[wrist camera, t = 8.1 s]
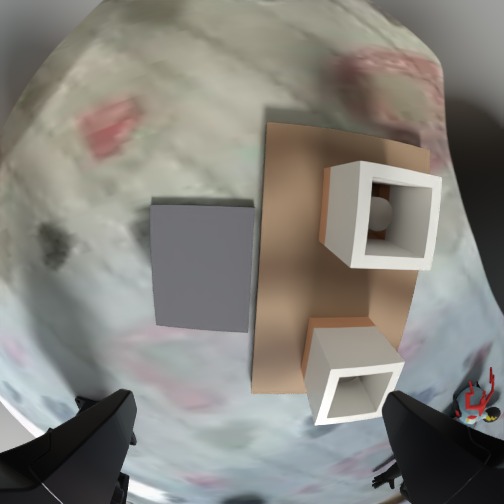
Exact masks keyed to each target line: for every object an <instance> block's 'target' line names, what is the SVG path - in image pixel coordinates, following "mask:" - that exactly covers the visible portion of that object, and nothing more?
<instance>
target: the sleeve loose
mask: <svg viewBox="0 0 504 504" xmlns="http://www.w3.org/2000/svg"><path fill="white" fill-rule="evenodd" d="M372 184H375V185H380V189H379V197H380V198H384V199H386V200H387V201H388V202H389V203H390V205H391V207H392V210H393V218H392V221H391V223H390V225H389V226H388V227H387V228H386V229H384V230H382V231H376V232H375V236H374V235H367V232H368V224H369V214H370V203H371V190H372ZM441 184H442V178H441V177H437V176H433V175H429V174H425V173H421V172H416V171H412V170H407V169H403V168H398V167H393V166H388V165H383V164H377V163H371V162H366V161H356V162H351V163H347V164H342V165H337V166H333V167H328V168H324V177H323V193H322V207H321V219H320V230H319V242H321V243H322V244H323V245H324V246H325V247H327V248H328V249H329V250H330V251H331V252H332V253H334V254H335V255H336V256H337V257H338V258H339V259H341V260H342V261H343V262H344V263H345V264H346V265H348V266H349V267H350V268H367V269H397V270H431V265H432V260H433V254H434V248H435V242H436V235H437V228H438V220H439V210H440V199H441Z"/></svg>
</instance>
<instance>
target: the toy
mask: <svg viewBox="0 0 504 504" xmlns="http://www.w3.org/2000/svg"><path fill="white" fill-rule="evenodd" d="M490 383H492V389H491V392H490V393H489V395H488V397H487V398H486V400H485V396H486V395H485V392H486V391H484V390H483V391H484V392H483V391H482V390H481V389H480V386H479V384H478V381H477V385H476V387H474V386H472V384H471V381H469V384H470V387H468V388H466V389H464V390H463V391H462V392H460V394H459V396H458V397H457V399H456V398H455V396H453V405H454V409H455V415H456V417H455V418H453V419H455V420H457V421H459V422H461V423H463V424H465V425H467V427H468V426H469V427H471V428H473V429H476V426H477V422H478V421H480V420H481V419H483V420H484V421H485V422H494V421H495V420H497V419H498V418H499V416H500V414H501V413H500V410H499V408H497V407H491V408H488V409H486V410H485V411H484V409H485V406H486V404H487V402H488V401H489V399H490V397H491V395H492V394H493V392H494V375H492V367H490ZM399 476H401V472H400V469H399V467H398V464H397V462H395V463H394V464H393V465H392V466H391V467H390V468H389V469H388V470H387V471H386V472H384V473H382V474H380V475H378V476H376V477H374V479H375V480H373V481H372V483H374V482H376V483H374V484H372V487H374V488H375V489H376V488H378V487H379V486H381V485H383V484H384V483H386V482H389V484H390V487H391V489H394V488H395V487H394V479H395V478H397V477H399ZM400 492H401V494H402V496H403V497H404V498H405V499H407V500H408V501H409V502H410V503H411V500H410V497H409V495H408V492H407V489H406V486H405V483H403V484H402V485H401V487H400ZM411 504H412V503H411Z"/></svg>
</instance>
